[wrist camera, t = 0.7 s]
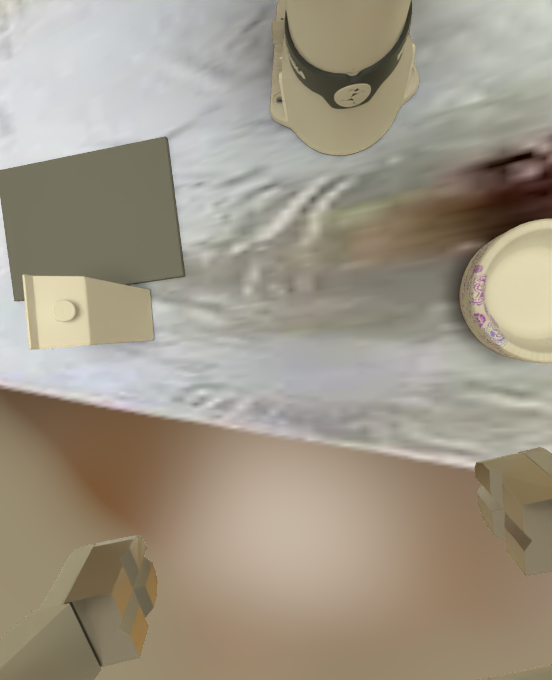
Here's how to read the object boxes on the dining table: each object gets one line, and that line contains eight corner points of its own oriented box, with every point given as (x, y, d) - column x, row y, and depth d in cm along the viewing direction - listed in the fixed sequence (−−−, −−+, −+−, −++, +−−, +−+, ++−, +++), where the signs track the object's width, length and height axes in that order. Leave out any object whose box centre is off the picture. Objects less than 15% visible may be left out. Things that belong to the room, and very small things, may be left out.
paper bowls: (425, 289, 50) (442, 282, 42) (526, 209, 48) (564, 186, 40) (504, 382, 49) (537, 393, 41) (610, 304, 47) (666, 300, 39)
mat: (1, 173, 58) (-4, 170, 57) (167, 139, 54) (165, 136, 53) (18, 301, 58) (14, 300, 57) (185, 276, 54) (183, 275, 54)
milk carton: (108, 343, 56) (-4, 352, 38) (103, 294, 56) (-10, 278, 37) (154, 339, 55) (64, 346, 37) (150, 289, 55) (57, 270, 36)
